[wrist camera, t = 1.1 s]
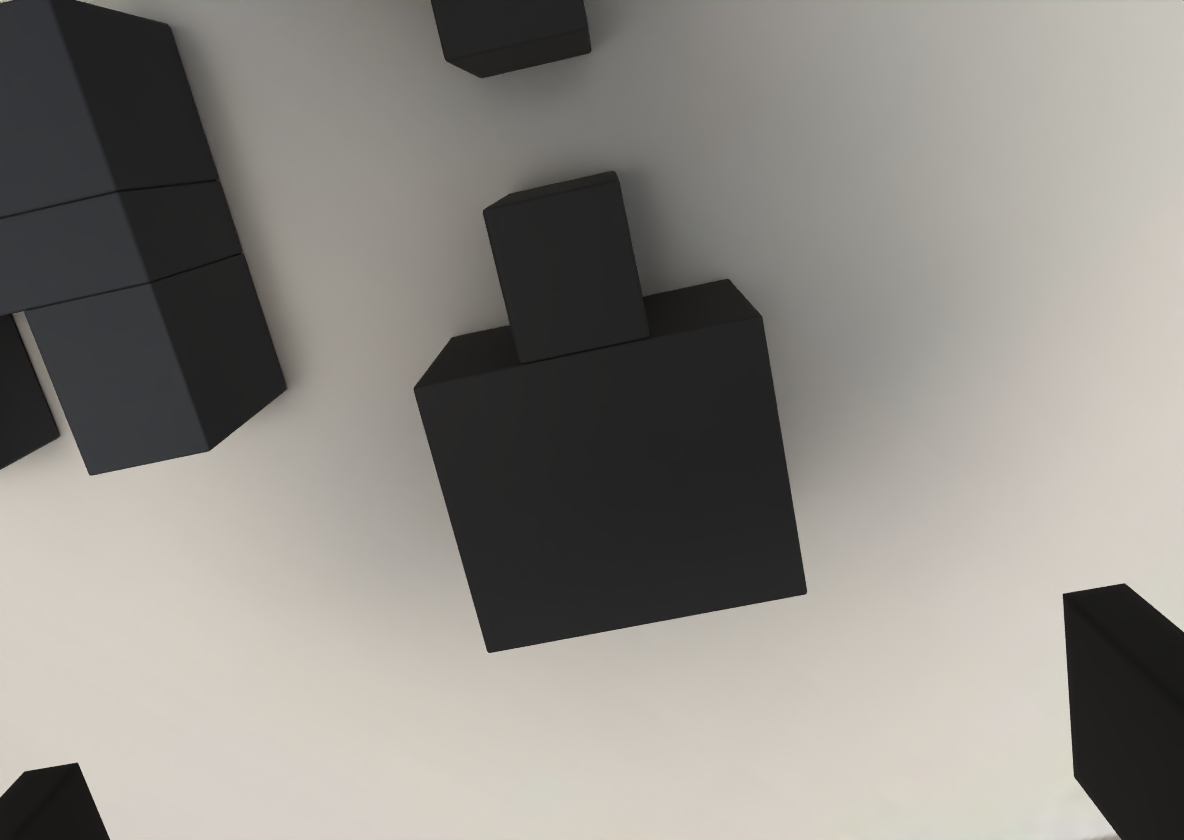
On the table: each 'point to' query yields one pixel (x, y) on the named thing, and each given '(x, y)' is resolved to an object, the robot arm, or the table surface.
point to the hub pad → (117, 247)
